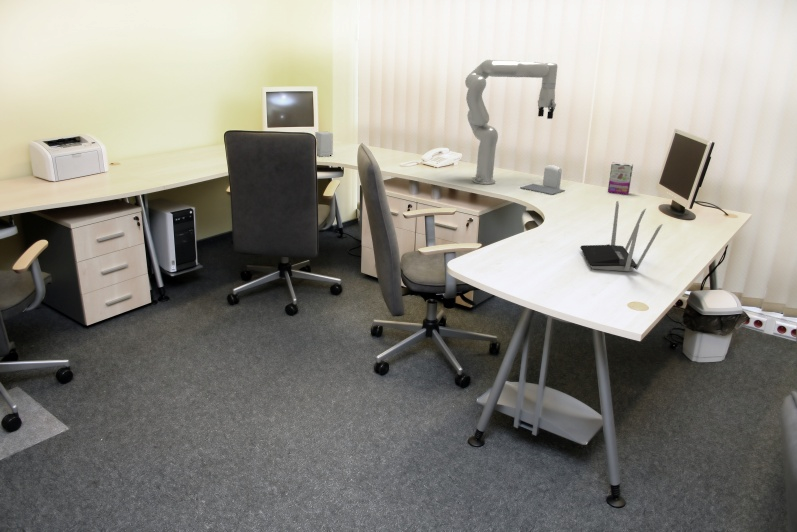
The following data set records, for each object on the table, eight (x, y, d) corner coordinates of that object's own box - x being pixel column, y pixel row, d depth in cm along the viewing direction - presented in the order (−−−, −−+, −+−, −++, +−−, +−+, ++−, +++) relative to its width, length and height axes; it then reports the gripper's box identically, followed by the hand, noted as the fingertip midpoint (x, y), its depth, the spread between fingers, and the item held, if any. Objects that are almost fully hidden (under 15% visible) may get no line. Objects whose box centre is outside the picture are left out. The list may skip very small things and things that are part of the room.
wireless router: (577, 246, 268) (583, 199, 262) (634, 250, 267) (642, 202, 260) (592, 275, 237) (600, 222, 230) (657, 280, 235) (667, 226, 228)
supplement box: (333, 156, 429) (333, 133, 424) (320, 157, 425) (320, 133, 420) (327, 153, 437) (327, 131, 431) (314, 154, 432) (314, 131, 427)
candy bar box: (628, 193, 364) (633, 164, 358) (628, 195, 359) (633, 165, 354) (608, 190, 367) (612, 161, 362) (607, 192, 363) (611, 163, 357)
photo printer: (541, 185, 372) (544, 164, 368) (546, 184, 375) (548, 163, 371) (556, 189, 365) (558, 167, 361) (560, 188, 367) (563, 166, 363)
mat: (552, 195, 352) (552, 194, 351) (520, 188, 364) (520, 187, 363) (564, 191, 362) (564, 190, 361) (532, 184, 374) (532, 183, 374)
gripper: (534, 84, 371) (531, 115, 377) (550, 87, 355) (547, 119, 361) (546, 84, 373) (542, 115, 379) (562, 87, 358) (559, 119, 364)
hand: (545, 117), depth 370 cm, fingers open, 9 cm apart
